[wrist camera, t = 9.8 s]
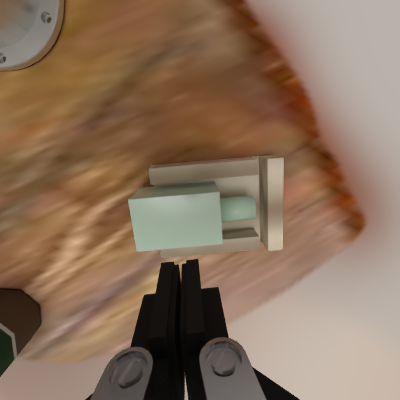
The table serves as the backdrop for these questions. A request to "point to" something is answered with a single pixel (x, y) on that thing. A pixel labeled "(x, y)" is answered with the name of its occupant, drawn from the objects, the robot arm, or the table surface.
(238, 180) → the cradle
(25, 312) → the beer bottle
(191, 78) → the table surface
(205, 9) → the table surface
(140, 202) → the bottle
